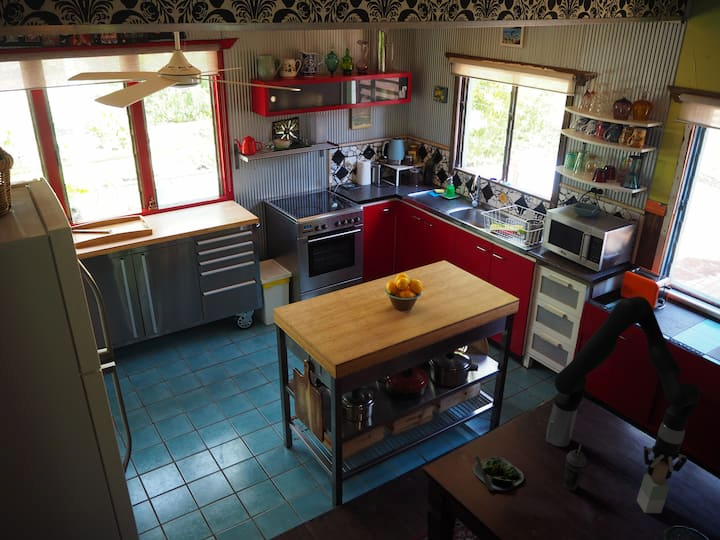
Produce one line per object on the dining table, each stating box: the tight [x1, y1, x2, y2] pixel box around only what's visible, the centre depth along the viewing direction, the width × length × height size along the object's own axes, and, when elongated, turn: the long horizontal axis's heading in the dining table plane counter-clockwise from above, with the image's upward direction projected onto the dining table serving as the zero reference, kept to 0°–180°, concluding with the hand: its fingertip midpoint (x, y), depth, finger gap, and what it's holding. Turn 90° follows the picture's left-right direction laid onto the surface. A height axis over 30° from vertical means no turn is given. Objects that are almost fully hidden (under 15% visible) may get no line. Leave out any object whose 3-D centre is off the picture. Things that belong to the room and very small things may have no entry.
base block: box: [636, 487, 666, 514], centre depth 214 cm, size 6×6×6 cm
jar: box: [650, 461, 669, 483], centre depth 209 cm, size 5×5×7 cm
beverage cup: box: [563, 443, 587, 492], centre depth 218 cm, size 7×7×20 cm
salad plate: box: [473, 455, 525, 493], centre depth 225 cm, size 19×18×5 cm
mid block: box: [640, 473, 671, 501], centre depth 211 cm, size 6×6×6 cm
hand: (658, 475), depth 210 cm, fingers closed on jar, 4 cm apart
